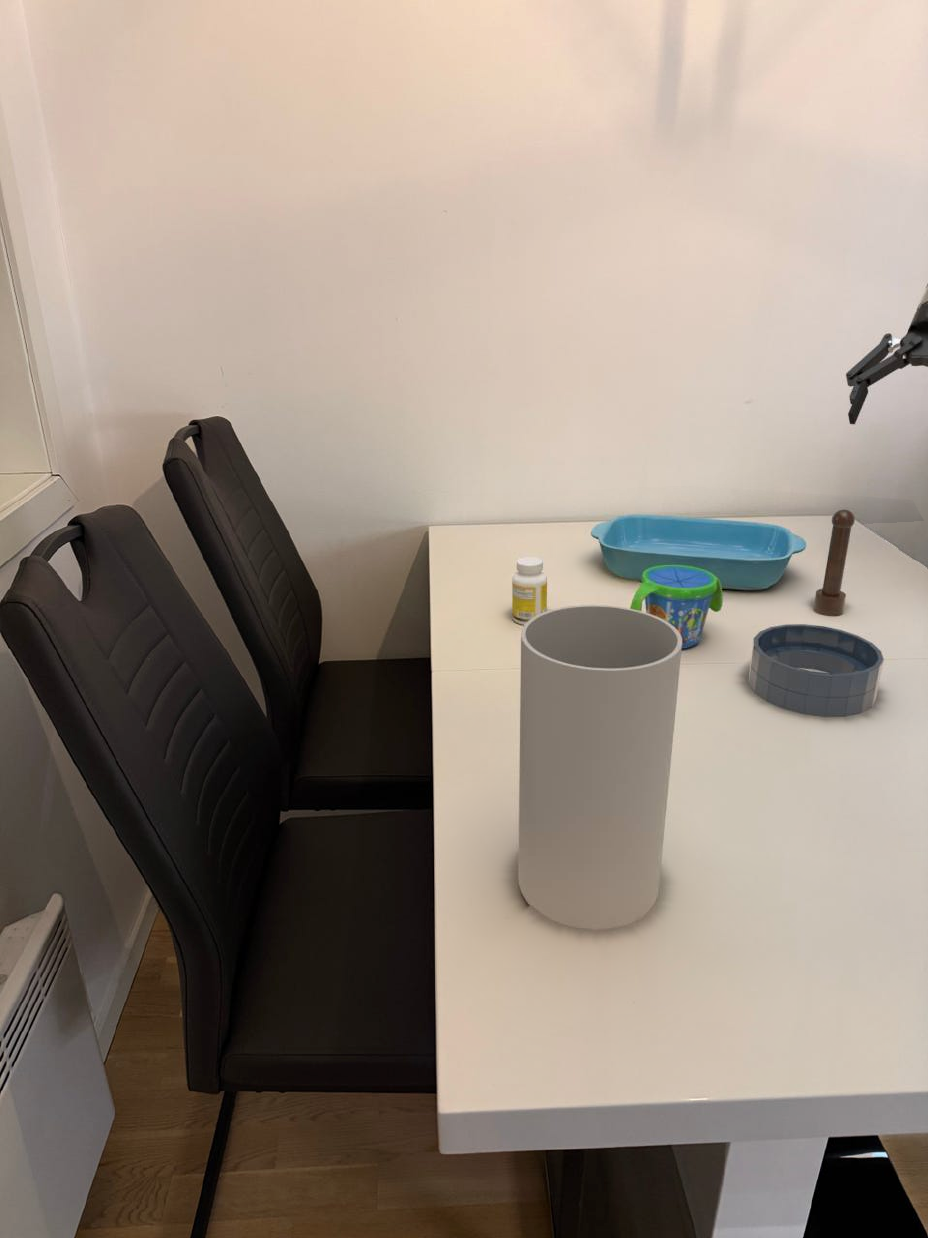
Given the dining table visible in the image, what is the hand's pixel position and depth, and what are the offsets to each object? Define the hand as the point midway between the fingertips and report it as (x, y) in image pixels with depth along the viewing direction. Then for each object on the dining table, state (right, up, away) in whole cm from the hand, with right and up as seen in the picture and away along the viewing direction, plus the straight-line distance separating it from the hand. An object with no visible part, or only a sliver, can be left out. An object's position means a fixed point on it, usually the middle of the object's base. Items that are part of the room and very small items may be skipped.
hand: (896, 423), depth 131 cm
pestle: (-10, -29, +2) cm, 31 cm away
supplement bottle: (-58, -31, +1) cm, 65 cm away
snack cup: (-37, -34, -7) cm, 50 cm away
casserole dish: (-27, -22, +20) cm, 40 cm away
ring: (-23, -40, -23) cm, 52 cm away
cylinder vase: (-57, -55, -55) cm, 97 cm away
